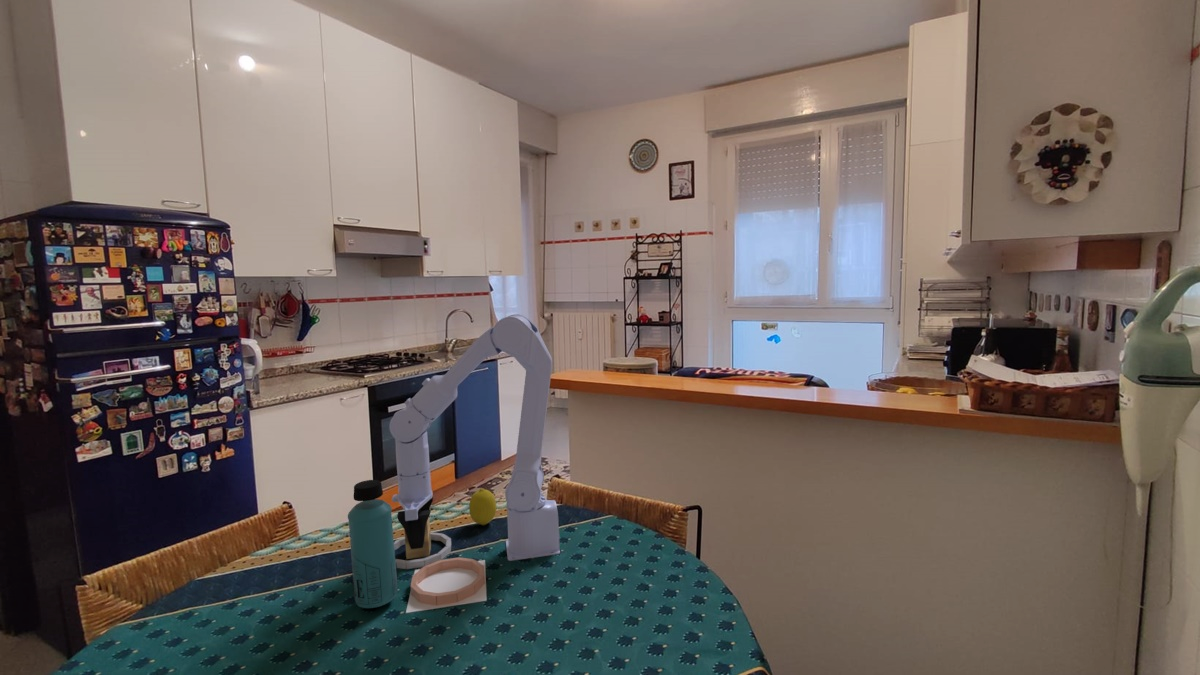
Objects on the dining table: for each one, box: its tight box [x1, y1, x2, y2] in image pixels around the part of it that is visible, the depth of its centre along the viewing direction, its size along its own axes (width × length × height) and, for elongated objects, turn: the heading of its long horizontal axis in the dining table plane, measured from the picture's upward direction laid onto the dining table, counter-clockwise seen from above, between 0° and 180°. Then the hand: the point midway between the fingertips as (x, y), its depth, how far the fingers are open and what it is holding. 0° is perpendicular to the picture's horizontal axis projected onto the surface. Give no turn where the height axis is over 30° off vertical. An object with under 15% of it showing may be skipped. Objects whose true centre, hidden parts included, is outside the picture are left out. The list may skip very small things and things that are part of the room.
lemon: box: [468, 488, 497, 526], centre depth 112 cm, size 6×6×8 cm
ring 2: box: [410, 557, 485, 605], centre depth 89 cm, size 12×12×2 cm
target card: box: [405, 559, 488, 614], centre depth 89 cm, size 12×13×1 cm
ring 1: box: [394, 531, 452, 570], centre depth 100 cm, size 12×12×2 cm
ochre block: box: [404, 517, 432, 560], centre depth 100 cm, size 4×4×7 cm
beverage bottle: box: [347, 479, 399, 609], centre depth 83 cm, size 6×7×20 cm
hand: (418, 541), depth 100 cm, fingers closed on ochre block, 4 cm apart
